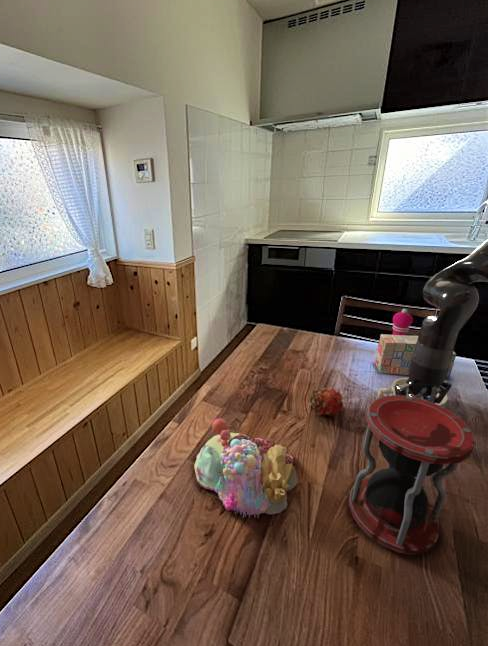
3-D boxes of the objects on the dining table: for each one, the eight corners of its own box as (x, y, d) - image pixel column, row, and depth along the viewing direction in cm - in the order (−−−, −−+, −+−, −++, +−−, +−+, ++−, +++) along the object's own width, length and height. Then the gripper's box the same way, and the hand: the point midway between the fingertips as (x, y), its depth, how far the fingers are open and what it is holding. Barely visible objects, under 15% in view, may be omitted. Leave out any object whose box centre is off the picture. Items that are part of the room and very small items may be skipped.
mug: (431, 394, 105) (435, 379, 103) (451, 423, 93) (456, 408, 91) (370, 388, 109) (373, 374, 107) (382, 416, 97) (386, 401, 95)
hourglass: (351, 540, 66) (374, 444, 56) (346, 474, 80) (363, 388, 70) (449, 567, 61) (493, 467, 51) (425, 492, 75) (456, 402, 64)
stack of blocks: (441, 368, 117) (450, 337, 112) (449, 378, 112) (459, 346, 107) (374, 363, 122) (380, 333, 117) (378, 373, 117) (385, 341, 112)
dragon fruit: (309, 424, 98) (331, 411, 105) (334, 422, 91) (356, 408, 99) (298, 395, 100) (321, 385, 107) (323, 391, 93) (345, 380, 100)
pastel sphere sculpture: (298, 446, 88) (301, 419, 85) (296, 531, 68) (300, 500, 64) (206, 430, 96) (205, 404, 92) (180, 502, 76) (177, 472, 72)
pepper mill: (408, 359, 124) (421, 309, 116) (398, 365, 120) (410, 314, 112) (389, 351, 129) (400, 303, 121) (378, 357, 126) (388, 308, 118)
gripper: (414, 371, 76) (398, 429, 83) (471, 364, 77) (451, 423, 84) (392, 354, 83) (379, 410, 90) (445, 349, 84) (428, 404, 91)
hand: (414, 416), depth 87 cm, fingers closed on block, 4 cm apart
